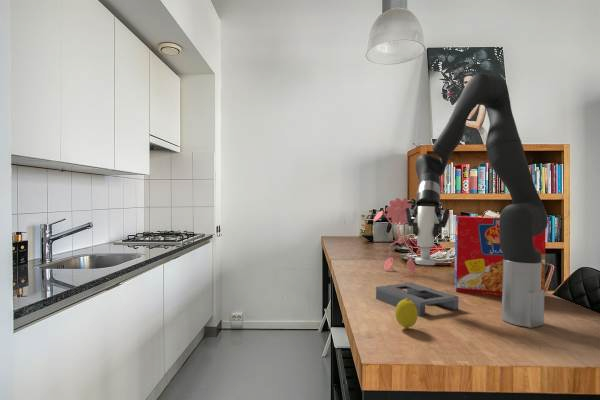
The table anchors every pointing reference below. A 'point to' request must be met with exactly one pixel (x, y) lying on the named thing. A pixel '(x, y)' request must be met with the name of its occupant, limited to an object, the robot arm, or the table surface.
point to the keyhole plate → (416, 296)
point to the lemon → (406, 313)
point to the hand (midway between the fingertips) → (425, 234)
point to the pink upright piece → (398, 214)
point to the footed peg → (425, 234)
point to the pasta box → (483, 256)
